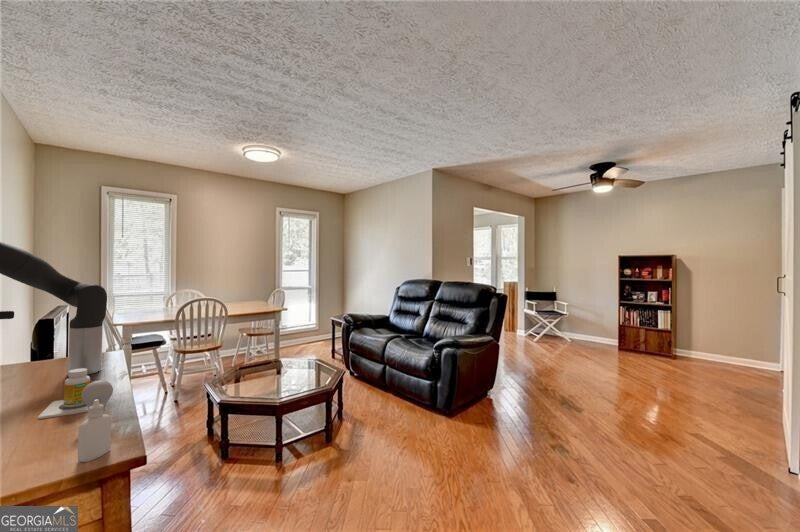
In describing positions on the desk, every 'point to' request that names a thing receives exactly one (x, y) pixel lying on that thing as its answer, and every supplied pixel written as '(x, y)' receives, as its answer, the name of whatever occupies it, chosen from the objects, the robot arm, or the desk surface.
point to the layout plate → (61, 410)
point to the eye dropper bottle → (94, 434)
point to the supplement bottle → (75, 387)
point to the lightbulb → (97, 393)
